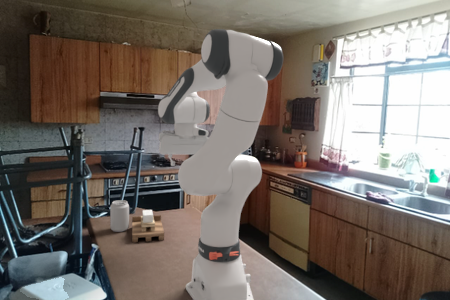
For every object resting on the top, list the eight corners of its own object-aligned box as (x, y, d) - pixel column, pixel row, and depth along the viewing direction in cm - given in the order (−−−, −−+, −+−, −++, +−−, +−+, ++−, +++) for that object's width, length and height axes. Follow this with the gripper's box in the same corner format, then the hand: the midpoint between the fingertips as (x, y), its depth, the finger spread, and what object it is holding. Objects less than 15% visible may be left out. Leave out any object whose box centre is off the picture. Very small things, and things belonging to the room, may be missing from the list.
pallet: (154, 230, 131) (154, 223, 131) (141, 231, 130) (141, 224, 129) (153, 222, 141) (153, 215, 140) (140, 223, 139) (140, 216, 139)
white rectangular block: (153, 222, 132) (153, 215, 132) (143, 222, 131) (143, 215, 131) (151, 216, 139) (152, 209, 138) (142, 217, 138) (142, 210, 137)
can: (123, 233, 135) (123, 205, 133) (106, 231, 136) (106, 203, 135) (132, 227, 142) (132, 200, 141) (116, 225, 144) (116, 198, 142)
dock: (164, 240, 130) (164, 227, 129) (132, 242, 126) (132, 229, 126) (160, 226, 145) (160, 215, 144) (132, 227, 142) (132, 216, 141)
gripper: (159, 130, 124) (158, 167, 125) (212, 131, 129) (211, 166, 131) (158, 129, 130) (157, 164, 131) (208, 130, 135) (207, 164, 137)
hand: (184, 165), depth 131 cm, fingers open, 8 cm apart
